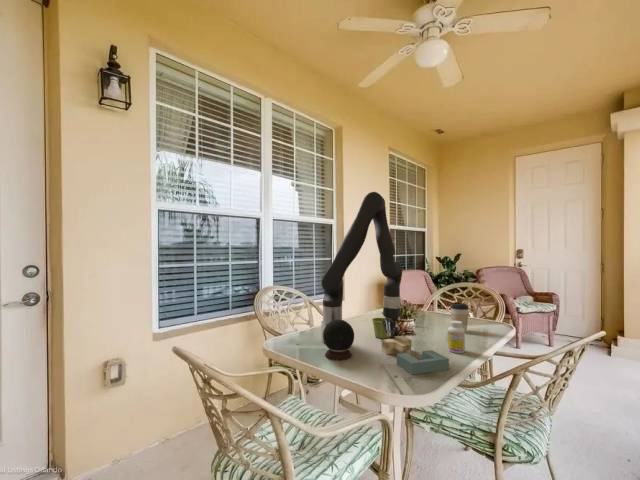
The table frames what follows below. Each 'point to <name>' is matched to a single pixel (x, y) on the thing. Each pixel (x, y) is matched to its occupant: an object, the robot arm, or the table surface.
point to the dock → (423, 362)
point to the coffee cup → (460, 314)
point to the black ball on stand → (338, 340)
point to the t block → (396, 346)
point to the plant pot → (379, 328)
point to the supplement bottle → (456, 337)
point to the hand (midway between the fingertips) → (391, 344)
